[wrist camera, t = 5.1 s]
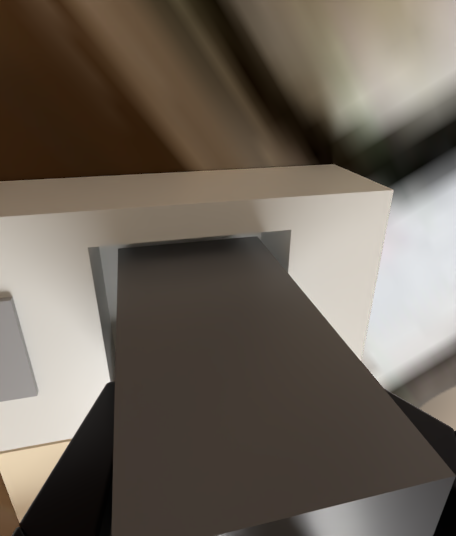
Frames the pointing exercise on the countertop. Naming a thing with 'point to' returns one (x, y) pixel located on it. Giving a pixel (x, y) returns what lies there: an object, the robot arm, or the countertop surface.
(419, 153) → the countertop surface
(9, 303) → the power strip
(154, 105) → the countertop surface
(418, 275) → the countertop surface
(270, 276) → the block
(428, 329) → the countertop surface
